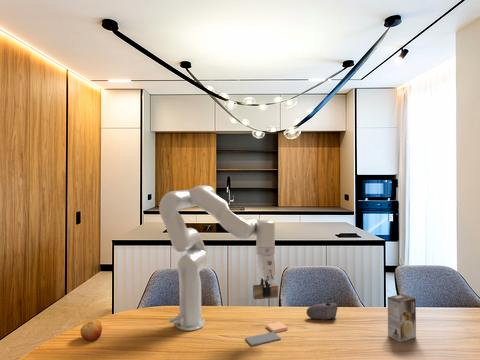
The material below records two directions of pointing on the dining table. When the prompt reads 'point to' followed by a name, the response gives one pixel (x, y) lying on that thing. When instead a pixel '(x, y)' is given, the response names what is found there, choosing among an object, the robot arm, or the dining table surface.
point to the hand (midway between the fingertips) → (265, 294)
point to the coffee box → (401, 317)
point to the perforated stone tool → (322, 311)
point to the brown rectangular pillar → (259, 291)
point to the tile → (276, 327)
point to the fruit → (91, 330)
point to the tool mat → (262, 338)
